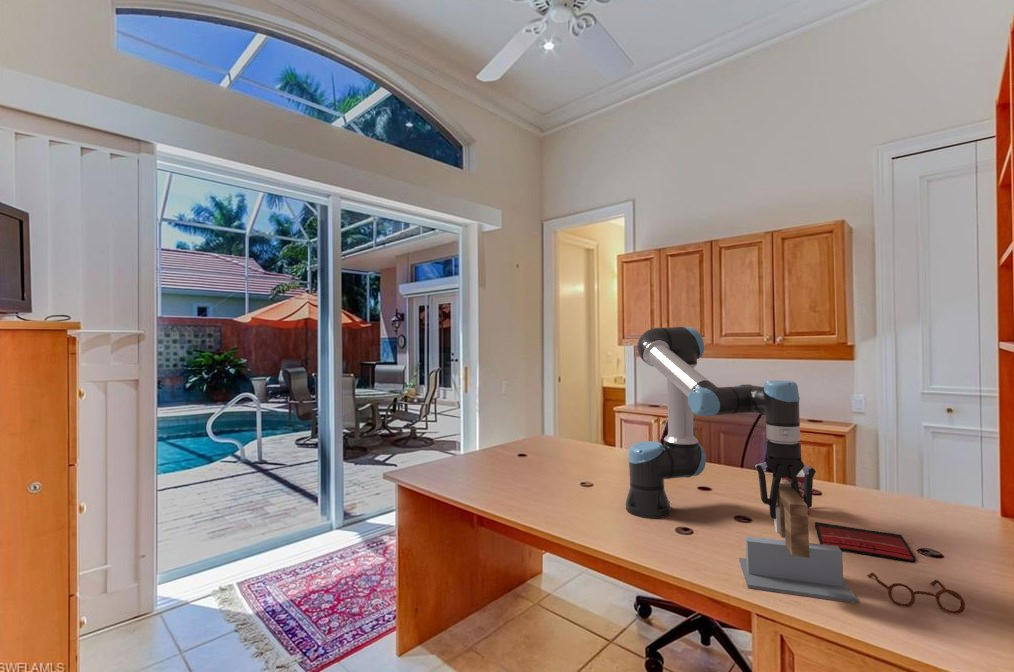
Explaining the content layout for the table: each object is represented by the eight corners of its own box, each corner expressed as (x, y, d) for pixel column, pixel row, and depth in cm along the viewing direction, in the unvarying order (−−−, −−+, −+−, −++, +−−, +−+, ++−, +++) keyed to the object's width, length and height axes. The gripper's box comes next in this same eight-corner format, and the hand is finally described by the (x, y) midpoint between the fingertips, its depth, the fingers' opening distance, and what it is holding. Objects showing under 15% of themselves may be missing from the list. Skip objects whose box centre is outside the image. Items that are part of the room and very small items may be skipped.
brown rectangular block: (791, 555, 103) (789, 503, 104) (776, 528, 118) (774, 482, 119) (809, 557, 102) (807, 505, 102) (791, 529, 117) (789, 483, 117)
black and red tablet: (814, 520, 140) (901, 533, 130) (814, 528, 140) (901, 541, 130) (820, 543, 126) (918, 560, 116) (821, 551, 127) (919, 569, 116)
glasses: (890, 606, 99) (889, 584, 99) (866, 577, 112) (865, 557, 112) (966, 617, 95) (965, 593, 95) (933, 585, 107) (932, 564, 107)
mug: (809, 519, 146) (807, 478, 147) (778, 512, 153) (776, 472, 153) (818, 508, 155) (816, 469, 155) (788, 502, 162) (787, 465, 162)
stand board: (747, 587, 107) (746, 550, 108) (739, 560, 121) (738, 527, 121) (858, 603, 100) (856, 563, 100) (836, 572, 113) (834, 537, 113)
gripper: (749, 442, 114) (753, 534, 114) (826, 445, 109) (830, 542, 108) (745, 436, 121) (748, 523, 121) (816, 439, 116) (820, 530, 115)
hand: (787, 532), depth 115 cm, fingers closed on brown rectangular block, 3 cm apart
